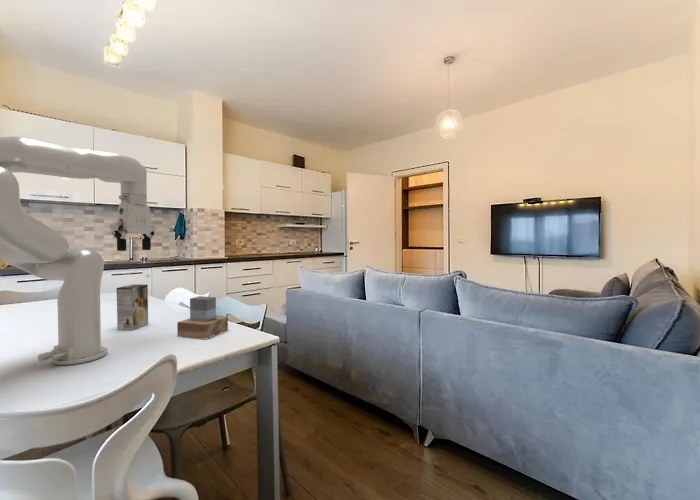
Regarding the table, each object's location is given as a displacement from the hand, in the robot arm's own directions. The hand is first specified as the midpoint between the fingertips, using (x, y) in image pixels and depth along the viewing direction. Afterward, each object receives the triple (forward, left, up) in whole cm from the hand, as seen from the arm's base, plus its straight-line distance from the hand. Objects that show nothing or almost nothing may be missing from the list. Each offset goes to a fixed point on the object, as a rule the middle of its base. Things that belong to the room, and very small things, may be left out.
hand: (134, 250), depth 115 cm
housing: (+11, -19, -25) cm, 33 cm away
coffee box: (+10, +12, -31) cm, 34 cm away
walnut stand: (+11, -19, -30) cm, 37 cm away
